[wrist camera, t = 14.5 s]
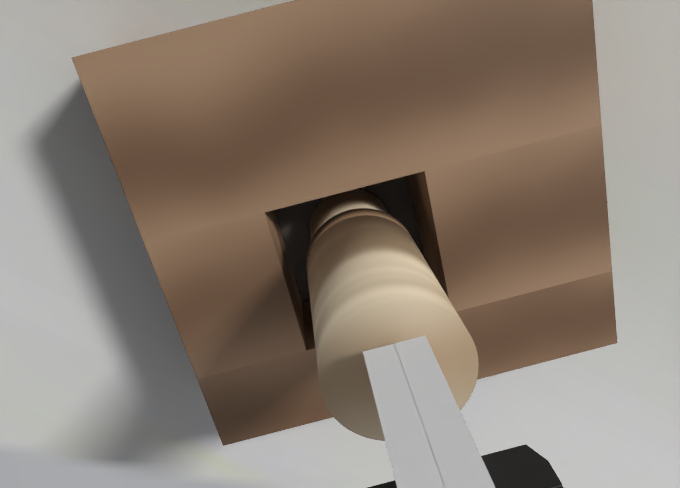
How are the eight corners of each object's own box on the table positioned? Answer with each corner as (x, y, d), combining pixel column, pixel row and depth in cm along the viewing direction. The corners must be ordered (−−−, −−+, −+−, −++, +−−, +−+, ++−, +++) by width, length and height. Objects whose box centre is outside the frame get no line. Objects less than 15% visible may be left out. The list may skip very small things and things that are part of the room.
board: (106, 50, 22) (71, 57, 18) (533, -60, 22) (586, -75, 18) (230, 386, 27) (223, 445, 24) (571, 298, 27) (617, 342, 24)
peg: (291, 195, 24) (300, 326, 14) (386, 170, 24) (465, 284, 14) (315, 281, 26) (340, 457, 16) (405, 258, 26) (489, 418, 16)
